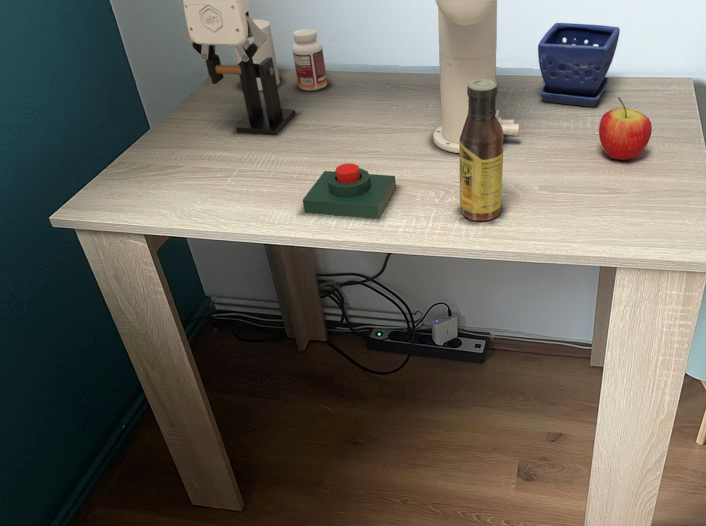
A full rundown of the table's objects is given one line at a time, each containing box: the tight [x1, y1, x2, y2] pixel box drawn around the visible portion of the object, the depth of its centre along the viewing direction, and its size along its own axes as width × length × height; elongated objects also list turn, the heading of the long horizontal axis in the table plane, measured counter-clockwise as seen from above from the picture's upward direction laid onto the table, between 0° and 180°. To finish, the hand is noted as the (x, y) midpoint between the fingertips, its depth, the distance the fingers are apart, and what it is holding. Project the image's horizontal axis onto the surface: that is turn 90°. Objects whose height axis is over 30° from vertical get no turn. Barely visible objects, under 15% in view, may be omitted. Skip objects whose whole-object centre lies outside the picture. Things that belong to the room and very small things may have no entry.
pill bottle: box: [291, 28, 328, 92], centre depth 151 cm, size 6×6×11 cm
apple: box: [598, 96, 653, 161], centre depth 120 cm, size 8×8×10 cm
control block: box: [302, 167, 397, 219], centre depth 114 cm, size 12×10×4 cm
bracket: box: [235, 57, 297, 136], centre depth 136 cm, size 10×8×12 cm
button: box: [335, 162, 360, 183], centre depth 112 cm, size 4×4×2 cm
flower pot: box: [537, 22, 621, 107], centre depth 141 cm, size 13×13×12 cm
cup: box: [233, 19, 281, 92], centre depth 153 cm, size 8×8×12 cm
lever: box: [215, 64, 260, 78], centre depth 129 cm, size 12×5×2 cm, turn 167°
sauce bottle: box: [459, 79, 504, 222], centre depth 104 cm, size 6×6×20 cm
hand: (233, 80), depth 126 cm, fingers open, 5 cm apart
